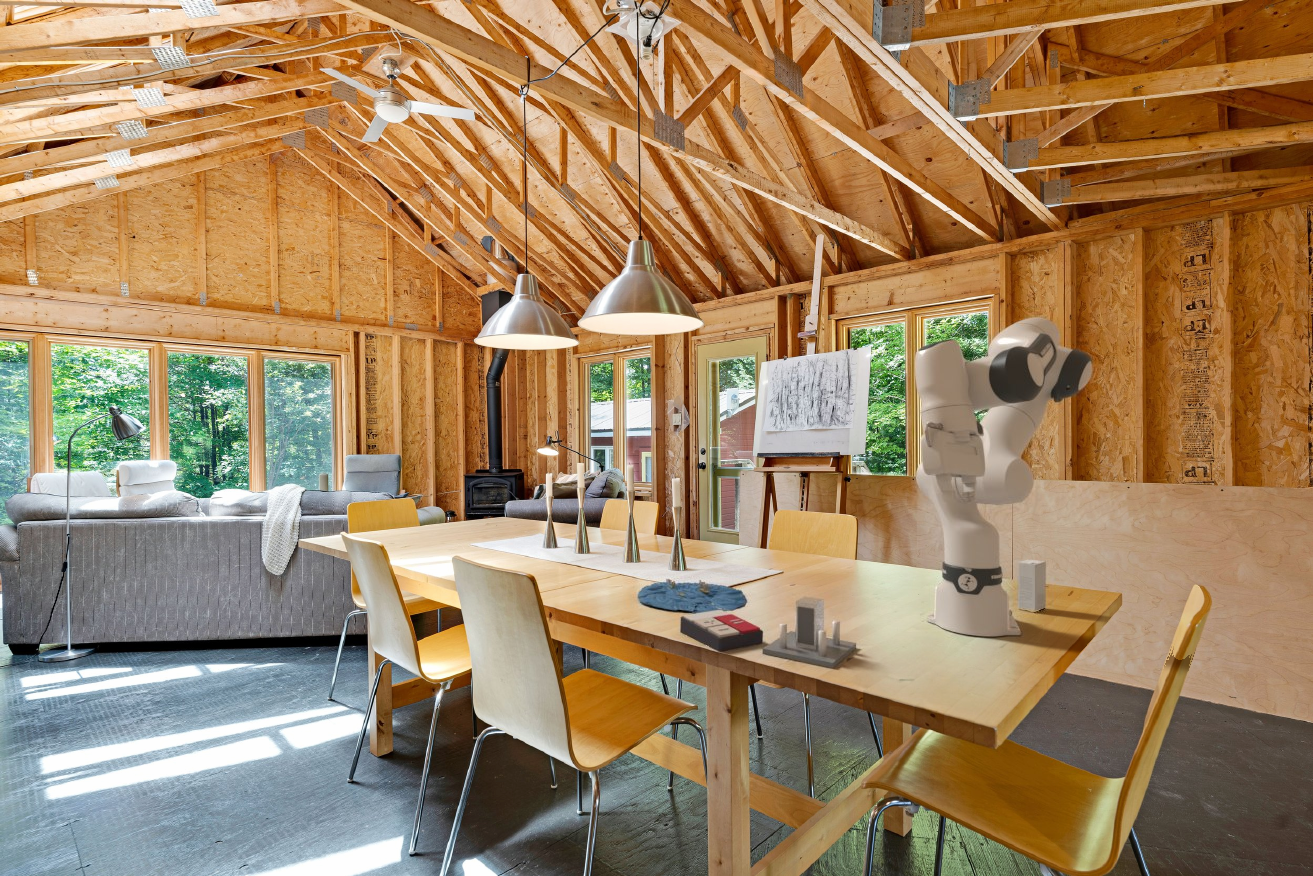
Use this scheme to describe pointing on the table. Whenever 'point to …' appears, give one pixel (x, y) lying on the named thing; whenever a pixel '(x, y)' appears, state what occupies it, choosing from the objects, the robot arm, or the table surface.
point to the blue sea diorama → (691, 596)
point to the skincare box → (1032, 585)
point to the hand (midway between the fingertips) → (960, 501)
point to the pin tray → (824, 656)
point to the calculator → (721, 630)
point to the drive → (809, 622)
